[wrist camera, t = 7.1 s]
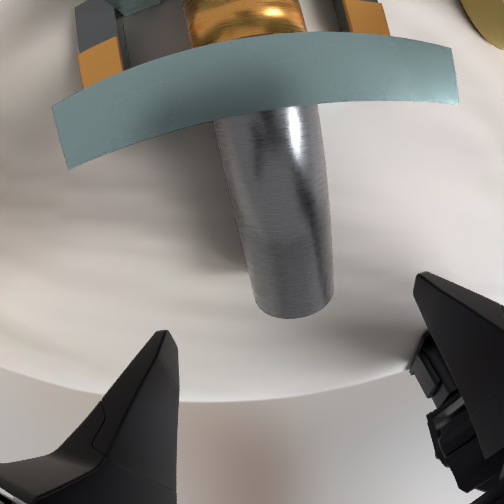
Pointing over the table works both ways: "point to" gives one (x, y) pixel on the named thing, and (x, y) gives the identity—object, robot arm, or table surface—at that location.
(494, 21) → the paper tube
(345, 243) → the table surface
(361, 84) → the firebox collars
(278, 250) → the tube
